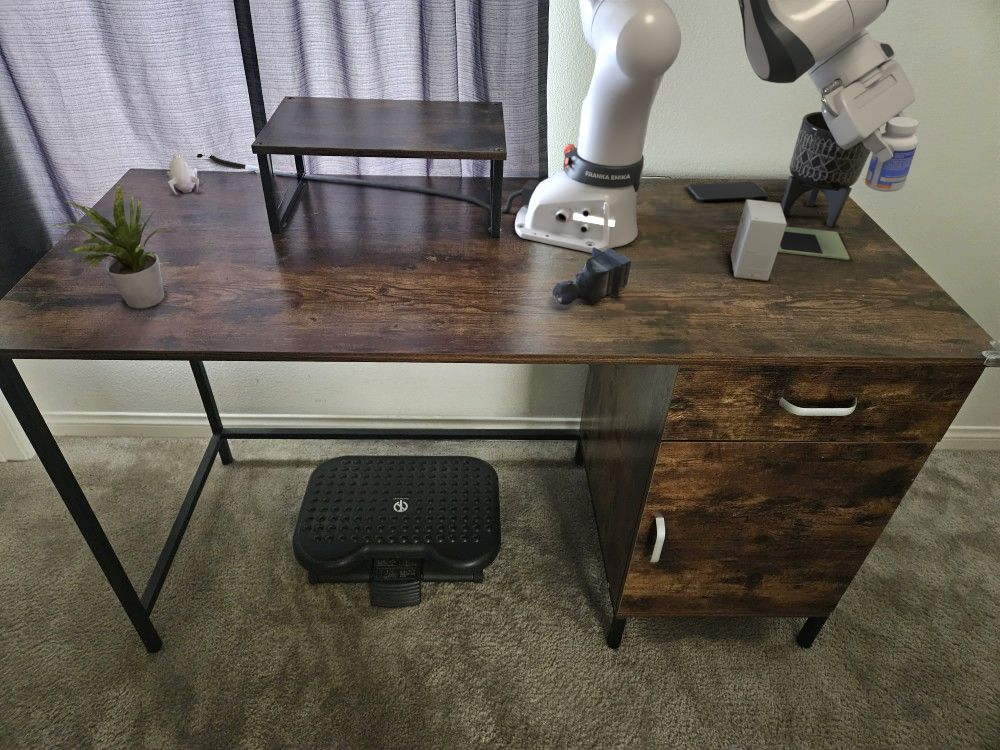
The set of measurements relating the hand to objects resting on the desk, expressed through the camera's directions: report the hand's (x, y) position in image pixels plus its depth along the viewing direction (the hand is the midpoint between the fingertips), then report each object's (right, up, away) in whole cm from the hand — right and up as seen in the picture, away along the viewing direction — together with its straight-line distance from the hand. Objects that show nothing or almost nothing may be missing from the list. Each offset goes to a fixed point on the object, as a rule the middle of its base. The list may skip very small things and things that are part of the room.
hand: (898, 151), depth 96 cm
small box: (-17, -15, +14) cm, 27 cm away
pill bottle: (0, -4, +4) cm, 6 cm away
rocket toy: (-120, +3, +30) cm, 124 cm away
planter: (+1, -2, +31) cm, 31 cm away
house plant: (-113, -21, +2) cm, 116 cm away
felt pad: (-4, -9, +22) cm, 24 cm away
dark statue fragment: (-45, -21, +6) cm, 50 cm away
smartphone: (-12, +4, +37) cm, 39 cm away
